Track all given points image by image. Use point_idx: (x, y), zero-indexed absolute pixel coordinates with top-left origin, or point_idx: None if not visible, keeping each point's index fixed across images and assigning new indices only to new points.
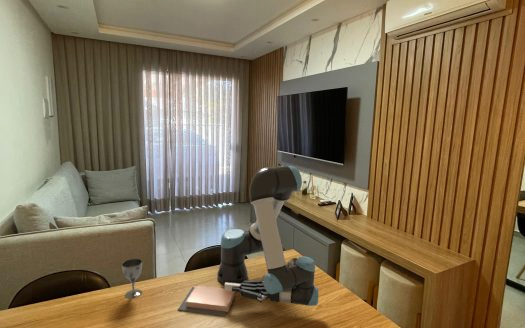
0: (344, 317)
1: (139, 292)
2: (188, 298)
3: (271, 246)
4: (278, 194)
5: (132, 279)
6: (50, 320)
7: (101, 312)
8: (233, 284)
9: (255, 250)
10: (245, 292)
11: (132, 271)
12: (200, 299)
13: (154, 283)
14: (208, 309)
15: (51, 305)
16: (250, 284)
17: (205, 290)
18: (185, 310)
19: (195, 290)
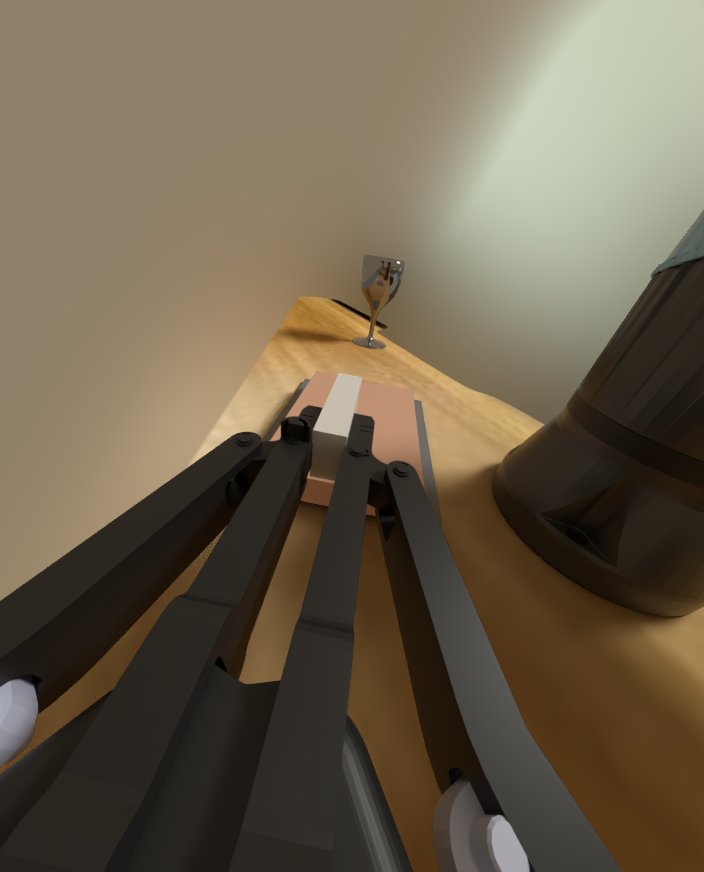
0: None
1: (372, 345)
2: (332, 375)
3: None
4: None
5: (365, 297)
6: (299, 307)
7: (312, 325)
8: (337, 401)
9: None
10: (193, 471)
11: (363, 269)
12: (325, 394)
13: (414, 359)
14: None
15: (332, 307)
16: (348, 525)
17: (385, 405)
18: (298, 389)
19: (380, 387)
